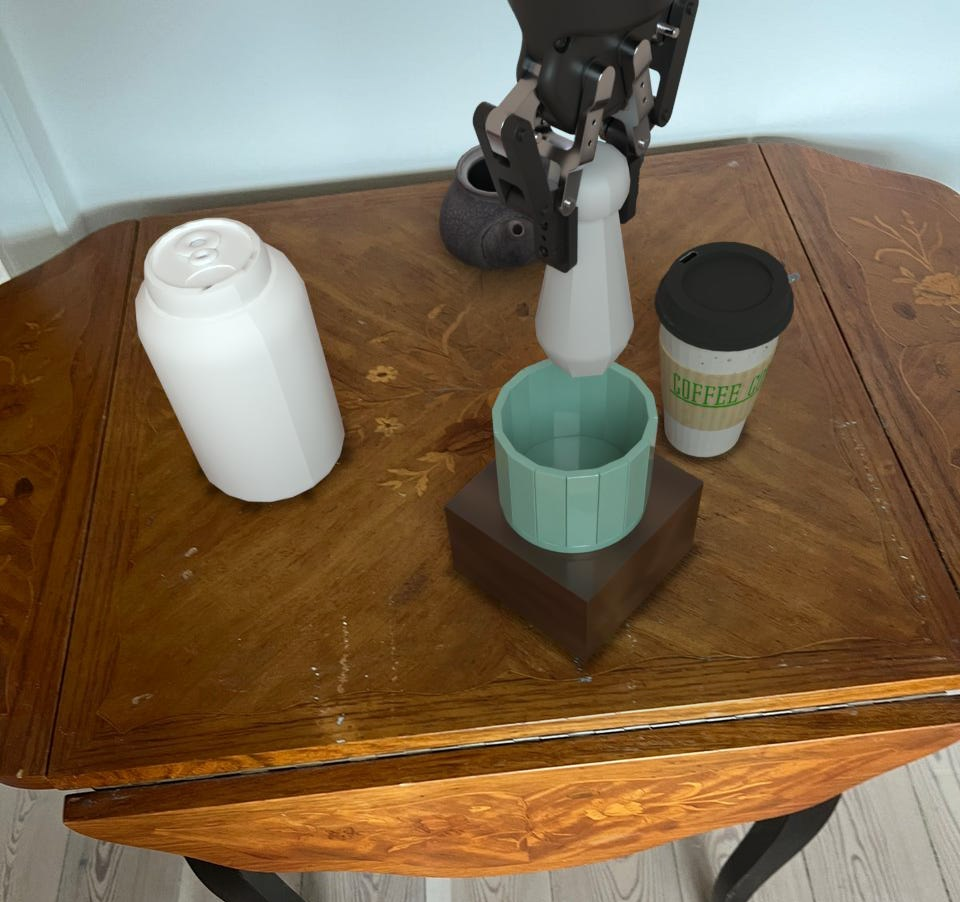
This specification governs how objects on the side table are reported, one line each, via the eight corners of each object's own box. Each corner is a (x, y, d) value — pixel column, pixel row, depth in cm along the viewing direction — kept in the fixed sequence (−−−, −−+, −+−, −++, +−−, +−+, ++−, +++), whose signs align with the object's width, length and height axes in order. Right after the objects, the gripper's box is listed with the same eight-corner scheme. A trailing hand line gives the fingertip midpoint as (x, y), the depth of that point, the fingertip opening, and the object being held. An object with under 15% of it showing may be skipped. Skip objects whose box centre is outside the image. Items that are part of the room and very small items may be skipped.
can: (187, 423, 88) (94, 225, 70) (322, 377, 89) (264, 173, 72) (221, 527, 81) (129, 338, 64) (366, 475, 83) (314, 278, 66)
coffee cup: (706, 494, 79) (733, 352, 67) (617, 428, 84) (627, 282, 71) (788, 428, 82) (829, 279, 69) (698, 368, 86) (721, 216, 74)
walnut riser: (561, 468, 82) (560, 398, 75) (691, 548, 77) (704, 481, 70) (454, 569, 78) (443, 505, 71) (585, 662, 73) (587, 602, 66)
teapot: (453, 311, 92) (442, 217, 84) (434, 207, 100) (421, 111, 92) (654, 280, 93) (663, 183, 84) (619, 178, 101) (624, 80, 92)
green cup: (562, 416, 74) (562, 332, 67) (677, 484, 70) (690, 402, 63) (469, 502, 71) (459, 424, 64) (584, 579, 67) (586, 504, 60)
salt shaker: (529, 384, 60) (520, 191, 49) (542, 318, 63) (536, 120, 52) (627, 391, 59) (640, 195, 48) (636, 323, 62) (650, 124, 51)
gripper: (549, -26, 35) (555, 344, 50) (778, -182, 40) (722, 197, 55) (399, -82, 38) (446, 283, 53) (629, -221, 43) (614, 148, 58)
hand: (587, 237), depth 54 cm, fingers closed on salt shaker, 4 cm apart
